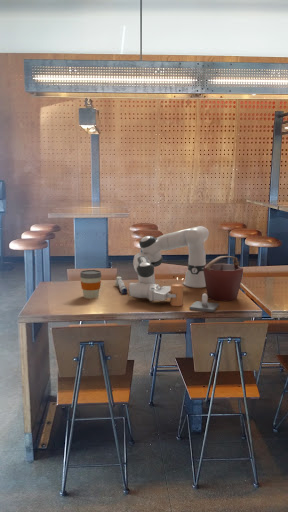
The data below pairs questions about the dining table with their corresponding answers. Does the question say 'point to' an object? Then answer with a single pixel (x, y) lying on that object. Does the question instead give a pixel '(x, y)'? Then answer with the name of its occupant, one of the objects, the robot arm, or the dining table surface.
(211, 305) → the post base
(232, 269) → the bucket
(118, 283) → the white blue cylinder
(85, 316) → the dining table surface
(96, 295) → the reusable coffee cup
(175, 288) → the tan upright cylinder
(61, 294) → the dining table surface
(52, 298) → the dining table surface
